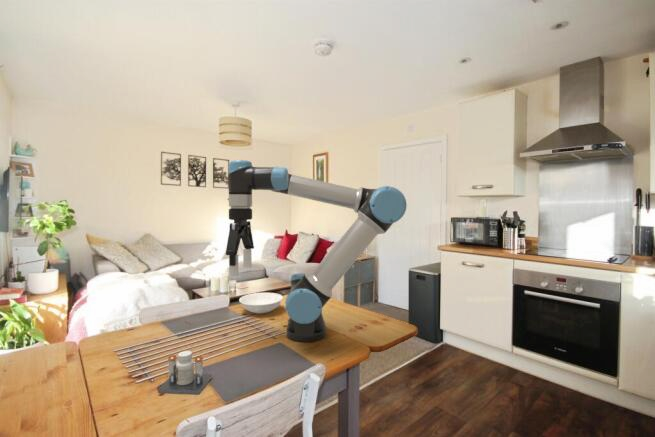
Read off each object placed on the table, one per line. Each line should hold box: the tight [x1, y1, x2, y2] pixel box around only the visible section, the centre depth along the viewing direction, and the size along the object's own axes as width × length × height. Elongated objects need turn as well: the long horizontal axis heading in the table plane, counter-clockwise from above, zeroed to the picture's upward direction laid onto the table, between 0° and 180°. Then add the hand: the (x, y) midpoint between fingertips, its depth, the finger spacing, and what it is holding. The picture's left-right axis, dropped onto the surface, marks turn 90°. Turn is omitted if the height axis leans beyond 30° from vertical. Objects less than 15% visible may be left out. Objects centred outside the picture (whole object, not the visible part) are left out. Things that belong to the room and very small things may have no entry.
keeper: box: [157, 354, 213, 395], centre depth 88 cm, size 11×8×8 cm
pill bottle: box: [176, 350, 195, 385], centre depth 88 cm, size 4×4×8 cm
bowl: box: [238, 292, 284, 315], centre depth 148 cm, size 20×20×6 cm
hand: (241, 271), depth 108 cm, fingers open, 13 cm apart
